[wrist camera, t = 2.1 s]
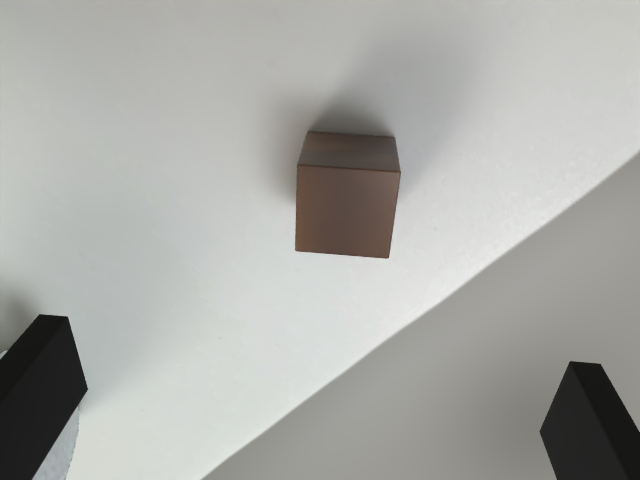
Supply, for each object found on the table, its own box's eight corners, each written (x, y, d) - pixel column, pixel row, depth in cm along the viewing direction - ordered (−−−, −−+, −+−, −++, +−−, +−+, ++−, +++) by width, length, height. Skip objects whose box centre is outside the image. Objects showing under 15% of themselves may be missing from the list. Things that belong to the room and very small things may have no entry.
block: (395, 136, 25) (401, 171, 21) (385, 215, 27) (388, 259, 23) (307, 130, 25) (297, 164, 21) (304, 208, 27) (294, 251, 24)
